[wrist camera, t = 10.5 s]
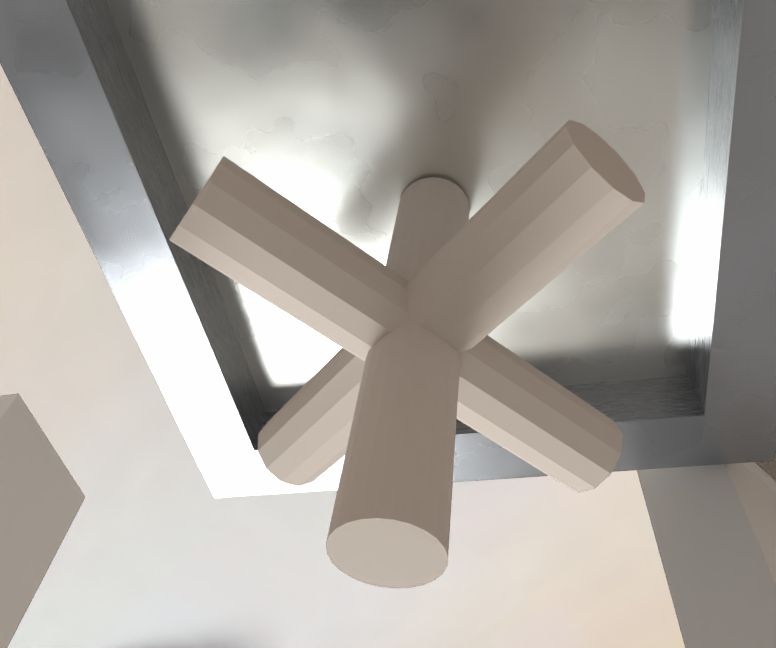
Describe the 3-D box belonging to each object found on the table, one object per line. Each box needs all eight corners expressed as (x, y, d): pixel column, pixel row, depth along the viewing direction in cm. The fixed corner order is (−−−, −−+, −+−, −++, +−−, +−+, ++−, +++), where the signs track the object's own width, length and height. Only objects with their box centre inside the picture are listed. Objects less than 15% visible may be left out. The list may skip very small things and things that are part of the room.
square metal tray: (229, 452, 25) (213, 497, 23) (-21, -108, 15) (-79, -98, 13) (750, 412, 22) (773, 460, 20) (855, -317, 12) (918, -338, 10)
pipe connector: (457, 403, 22) (436, 746, 15) (178, 227, 19) (-30, 545, 12) (730, 188, 17) (924, 567, 9) (395, -109, 14) (264, 86, 6)
